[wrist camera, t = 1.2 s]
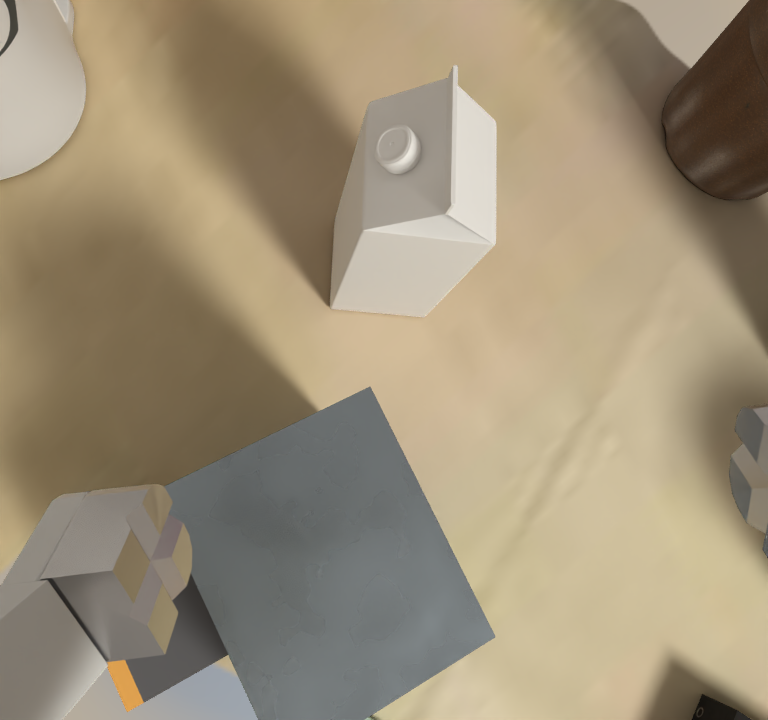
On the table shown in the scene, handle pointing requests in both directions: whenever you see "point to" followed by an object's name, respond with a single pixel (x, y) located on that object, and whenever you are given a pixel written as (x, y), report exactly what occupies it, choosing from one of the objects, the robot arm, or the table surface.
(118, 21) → the table surface
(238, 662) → the frame
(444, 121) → the milk carton
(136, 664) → the orange and grey block
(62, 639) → the robot arm
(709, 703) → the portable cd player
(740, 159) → the plant pot
